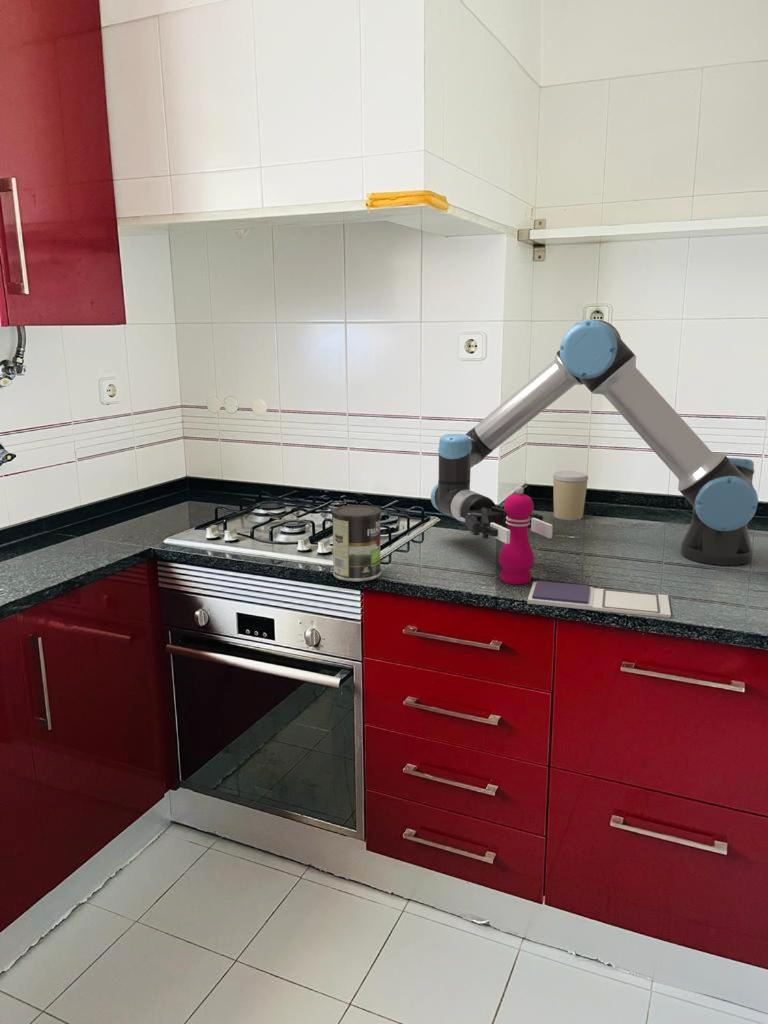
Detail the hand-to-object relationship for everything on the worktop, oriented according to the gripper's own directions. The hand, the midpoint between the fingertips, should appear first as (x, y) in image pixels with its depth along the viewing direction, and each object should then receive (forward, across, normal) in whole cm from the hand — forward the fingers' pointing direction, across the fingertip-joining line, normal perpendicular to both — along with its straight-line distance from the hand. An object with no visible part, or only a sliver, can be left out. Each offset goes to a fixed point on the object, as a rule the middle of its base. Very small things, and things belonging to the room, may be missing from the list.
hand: (529, 534), depth 158 cm
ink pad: (+8, -2, -11) cm, 14 cm away
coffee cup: (-44, -43, -11) cm, 62 cm away
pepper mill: (-4, 0, -11) cm, 12 cm away
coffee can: (-21, +29, -11) cm, 38 cm away
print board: (+16, -12, -11) cm, 23 cm away
